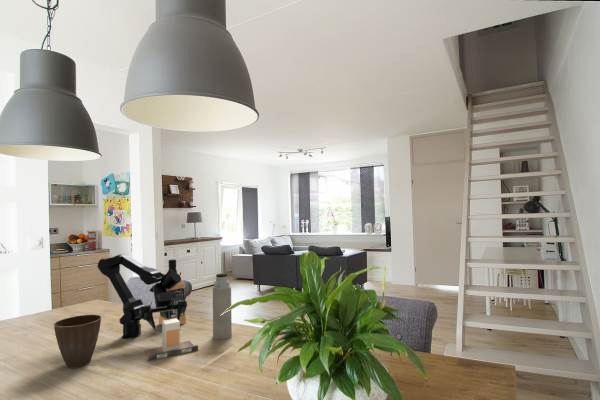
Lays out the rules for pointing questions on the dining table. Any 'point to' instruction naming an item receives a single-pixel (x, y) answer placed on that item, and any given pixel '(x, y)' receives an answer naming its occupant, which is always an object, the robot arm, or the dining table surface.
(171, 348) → the carton
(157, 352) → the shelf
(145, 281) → the robot arm
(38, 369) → the dining table surface
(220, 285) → the thermos bottle
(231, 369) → the dining table surface
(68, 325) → the plant pot
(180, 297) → the whiskey bottle
